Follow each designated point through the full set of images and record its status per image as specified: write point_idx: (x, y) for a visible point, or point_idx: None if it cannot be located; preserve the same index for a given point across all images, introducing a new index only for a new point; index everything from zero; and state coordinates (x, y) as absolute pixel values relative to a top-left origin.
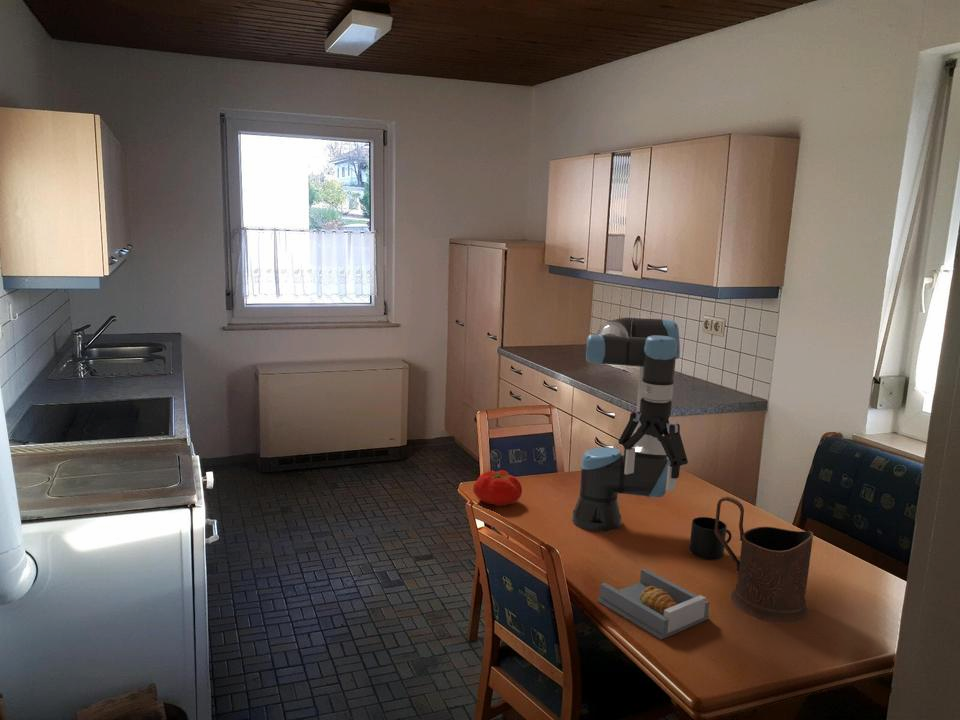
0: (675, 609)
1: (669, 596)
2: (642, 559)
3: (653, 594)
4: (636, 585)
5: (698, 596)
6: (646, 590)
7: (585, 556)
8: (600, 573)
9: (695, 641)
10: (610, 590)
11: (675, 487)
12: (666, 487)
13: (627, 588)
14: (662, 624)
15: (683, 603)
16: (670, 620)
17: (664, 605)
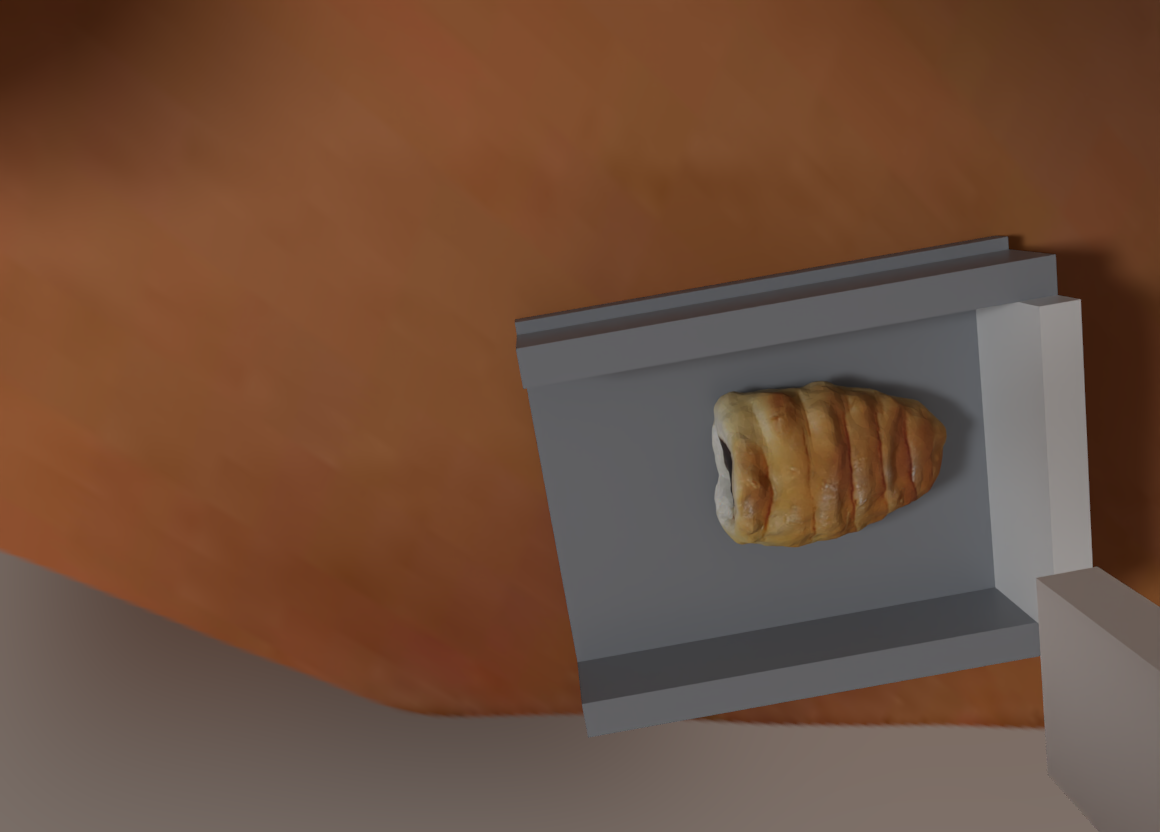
0: None
1: (866, 427)
2: (196, 93)
3: (818, 516)
4: (549, 417)
5: (1045, 334)
6: (759, 523)
7: (41, 450)
8: (294, 495)
9: (1113, 464)
10: (670, 720)
11: (1122, 586)
12: (1094, 810)
13: (558, 490)
14: None
15: (1061, 486)
16: None
17: (904, 499)
